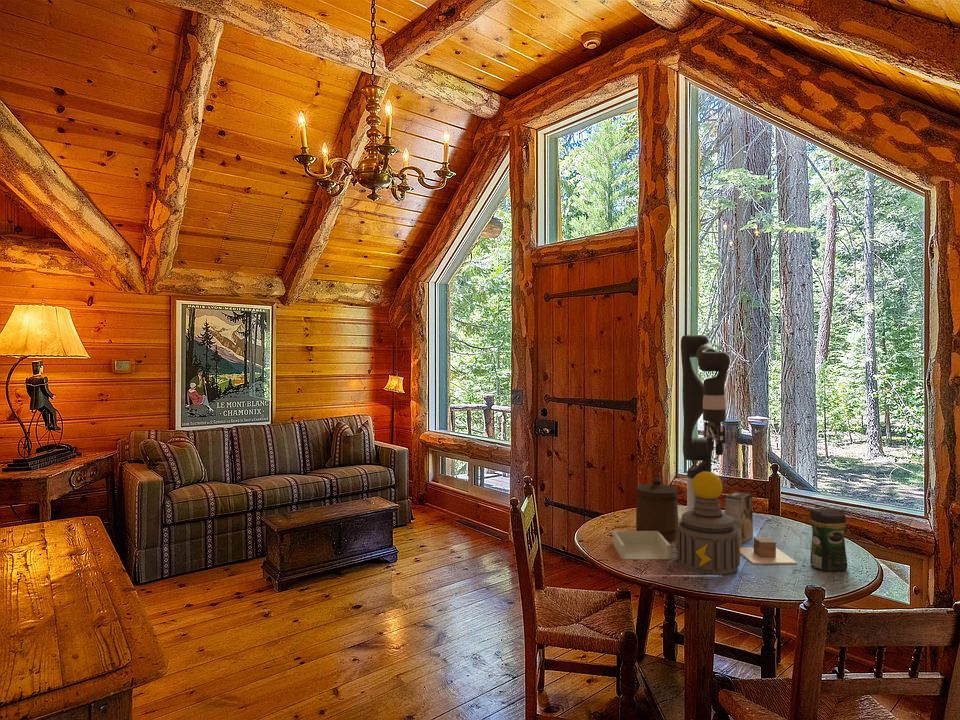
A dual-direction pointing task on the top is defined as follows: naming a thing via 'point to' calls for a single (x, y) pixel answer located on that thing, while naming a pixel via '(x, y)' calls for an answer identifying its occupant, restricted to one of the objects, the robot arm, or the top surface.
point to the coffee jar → (828, 539)
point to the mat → (755, 559)
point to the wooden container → (657, 509)
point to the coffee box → (740, 513)
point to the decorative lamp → (708, 531)
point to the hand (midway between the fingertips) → (714, 452)
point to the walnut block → (764, 547)
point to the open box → (641, 545)
